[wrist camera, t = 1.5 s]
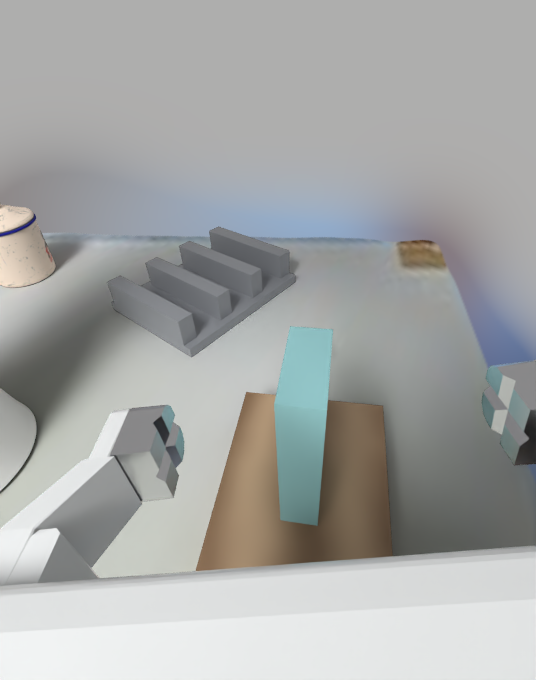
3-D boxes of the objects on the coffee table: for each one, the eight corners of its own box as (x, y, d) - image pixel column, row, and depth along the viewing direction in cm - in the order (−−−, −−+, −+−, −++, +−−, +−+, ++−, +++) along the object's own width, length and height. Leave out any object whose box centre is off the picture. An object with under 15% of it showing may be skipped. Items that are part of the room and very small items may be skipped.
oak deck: (200, 611, 26) (189, 590, 23) (249, 419, 38) (246, 392, 35) (386, 647, 24) (397, 629, 21) (376, 433, 36) (382, 405, 33)
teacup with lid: (70, 267, 63) (39, 195, 55) (18, 295, 57) (-24, 219, 50) (25, 252, 68) (-9, 184, 60) (-27, 276, 62) (-72, 204, 54)
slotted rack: (191, 357, 45) (184, 325, 42) (113, 309, 53) (102, 279, 50) (295, 282, 56) (295, 252, 53) (217, 251, 65) (213, 225, 62)
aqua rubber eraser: (280, 520, 26) (274, 404, 18) (291, 445, 31) (290, 326, 23) (317, 525, 26) (326, 409, 18) (323, 448, 30) (333, 329, 23)
